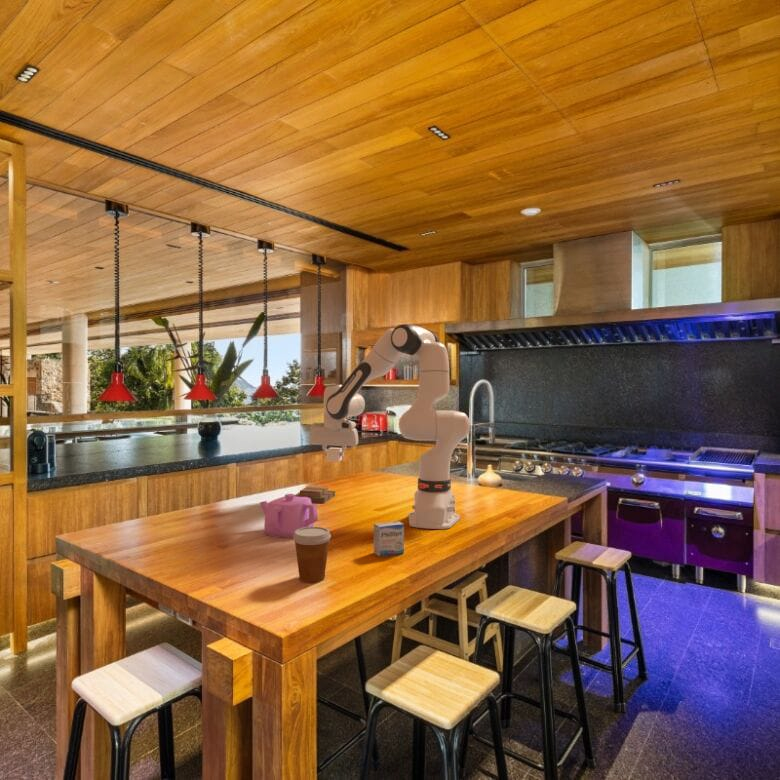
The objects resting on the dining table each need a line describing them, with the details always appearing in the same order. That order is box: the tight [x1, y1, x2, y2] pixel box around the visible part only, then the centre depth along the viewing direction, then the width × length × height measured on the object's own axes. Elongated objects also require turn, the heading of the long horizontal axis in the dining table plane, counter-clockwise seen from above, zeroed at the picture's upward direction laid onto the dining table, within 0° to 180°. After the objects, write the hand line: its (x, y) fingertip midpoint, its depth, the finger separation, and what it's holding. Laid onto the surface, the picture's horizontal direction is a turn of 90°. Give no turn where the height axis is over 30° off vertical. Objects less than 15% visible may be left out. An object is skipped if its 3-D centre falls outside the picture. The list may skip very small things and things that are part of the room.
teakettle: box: [259, 493, 319, 539], centre depth 176 cm, size 17×17×12 cm
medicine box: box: [373, 520, 405, 558], centre depth 154 cm, size 8×4×9 cm, turn 114°
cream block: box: [326, 447, 343, 463], centre depth 223 cm, size 5×5×5 cm
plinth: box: [294, 486, 336, 504], centre depth 223 cm, size 14×14×4 cm
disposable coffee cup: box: [292, 526, 332, 584], centre depth 135 cm, size 10×10×12 cm
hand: (334, 456), depth 223 cm, fingers closed on cream block, 5 cm apart
